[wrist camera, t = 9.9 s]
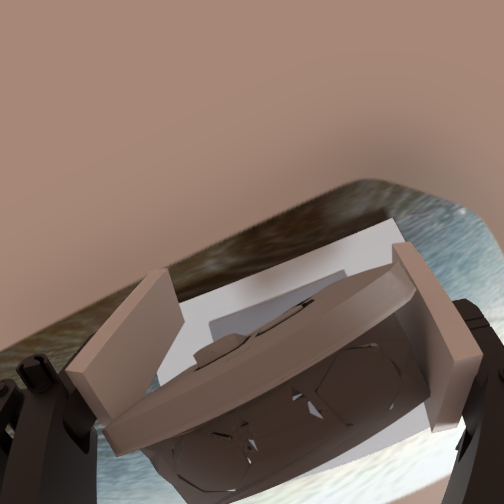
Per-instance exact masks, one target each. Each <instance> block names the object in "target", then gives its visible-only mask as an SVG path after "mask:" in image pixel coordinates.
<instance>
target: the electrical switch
mask: <svg viewBox="0 0 504 504" xmlns="http://www.w3.org/2000/svg"><path fill="white" fill-rule="evenodd" d="M416 290H417V289H416V287H415V286H414V285H413V283H412V282H411V280H410V279H409V277H408V276H407V274H406V273H405V271H404V270H403V268H402V267H401V265H400V264H399V262H398V261H397V262H393V263H390V264H387V265H383V266H380V267H376V268H373V269H369V270H366V271H363V272H360V273H357V274H354V275H351V276H348V277H345V278H342V279H340V280H338V281H336V282H334V283H332V284H330V285H328V286H326V287H325V288H323V289H322V290H320V291H319V292H317V293H315V294H314V295H312V296H311V297H309V298H308V299H306V300H304V301H302V302H300V303H299V304H297V305H296V306H294V307H292V308H291V309H289V310H288V311H286V312H285V313H283V314H282V315H280V316H278V317H277V318H275V319H273V320H272V321H270V322H268V323H267V324H265V325H263V326H262V327H260V328H258V329H256V330H255V331H253V332H251V333H250V334H248V335H246V336H245V335H240V334H236V333H232V334H229V335H226V336H224V337H222V338H220V339H218V340H216V341H214V342H213V343H211V344H209V345H207V346H205V347H203V348H201V349H200V350H198V351H197V352H196V353H195V354H194V355H193V356H194V358H195V360H196V362H197V363H196V364H194V365H193V366H191V367H189V368H187V369H186V370H184V371H183V372H181V373H180V374H178V375H177V376H175V377H174V378H173V379H171V380H170V381H168V382H167V383H165V384H164V385H162V386H161V387H159V388H158V389H156V390H155V391H153V392H152V393H150V394H149V395H147V396H146V397H144V398H143V399H141V400H140V401H139V402H137V403H136V404H135V405H134V406H132V407H131V408H130V409H128V410H127V411H126V412H124V413H123V414H122V415H120V416H119V417H118V418H116V419H115V420H114V421H112V422H111V423H110V424H108V425H107V426H106V427H104V428H103V430H102V433H103V434H104V436H105V438H106V439H107V441H108V443H109V445H110V446H111V448H112V449H113V451H114V453H115V455H116V457H119V456H122V455H125V454H128V453H130V452H133V451H136V450H139V449H140V450H141V451H142V452H143V453H144V454H145V455H146V456H147V457H148V458H149V460H150V461H151V463H152V464H153V466H154V468H155V469H156V471H157V472H158V474H159V475H161V476H162V477H163V478H164V479H166V480H167V481H168V482H169V483H171V484H172V485H173V486H174V488H175V489H176V490H177V491H178V493H179V494H180V495H181V496H182V498H183V499H184V500H185V501H186V502H187V504H229V503H232V502H235V501H238V500H241V499H244V498H246V497H249V496H252V495H254V494H257V493H260V492H262V491H265V490H267V489H270V488H272V487H275V486H277V485H279V484H282V483H284V482H286V481H289V480H291V479H293V478H295V477H298V476H300V475H302V474H304V473H306V472H308V471H310V470H312V469H314V468H316V467H318V466H320V465H322V464H324V463H326V462H328V461H330V460H332V459H334V458H336V457H338V456H340V455H341V454H343V453H345V452H347V451H349V450H350V449H352V448H354V447H356V446H357V445H359V444H361V443H362V442H364V441H366V440H367V439H369V438H371V437H372V436H374V435H376V434H377V433H379V432H380V431H382V430H384V429H385V428H387V427H388V426H390V425H391V424H393V423H394V422H396V421H397V420H399V419H400V418H402V417H403V416H405V415H406V414H407V413H409V412H410V411H412V410H413V409H414V408H416V407H417V406H419V405H420V404H421V403H423V402H424V401H425V400H427V399H428V398H429V397H430V394H431V391H430V389H429V385H428V383H427V381H426V379H425V377H424V375H423V373H422V372H421V370H420V368H419V366H418V364H417V362H416V361H415V358H414V354H413V350H412V346H411V342H410V340H409V338H408V337H407V335H406V333H405V331H404V330H403V328H402V326H401V325H400V322H399V320H398V318H397V315H396V313H395V311H396V310H398V309H399V308H400V307H402V306H403V305H404V304H406V303H407V302H408V301H410V300H411V298H412V297H413V295H414V293H415V291H416ZM299 394H302V395H301V396H299V397H298V398H297V399H295V400H294V401H293V396H296V395H299ZM309 401H310V402H311V403H312V405H313V406H314V407H315V409H316V410H317V411H318V412H319V414H320V415H321V416H322V418H320V417H318V416H315V415H313V414H311V413H310V411H309V406H308V402H309ZM392 404H393V408H392V409H390V408H391V406H392ZM389 409H390V410H389ZM229 437H230V438H229ZM248 439H249V440H254V442H255V445H256V448H257V450H258V451H257V450H256V449H255V447H254V446H253V445H252V444H251V442H250V441H249V440H248ZM247 457H248V458H247ZM248 459H249V460H250V461H251V463H249V460H248ZM227 490H235V491H227Z"/></svg>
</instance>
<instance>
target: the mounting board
mask: <svg viewBox="0 0 504 504" xmlns="http://www.w3.org/2000/svg"><path fill="white" fill-rule="evenodd" d="M401 242H405V240H404V238H403V237H402V235H401V233H400V231H399V229H398V227H397V226H396V224H395V222H394V220H393V218H391V219H389V220H386V221H384V222H381V223H379V224H377V225H374V226H372V227H370V228H367V229H365V230H362V231H360V232H358V233H355V234H353V235H350V236H348V237H345V238H343V239H341V240H338V241H336V242H333V243H331V244H328V245H326V246H324V247H321V248H319V249H316V250H314V251H311V252H309V253H306V254H304V255H301V256H299V257H297V258H294V259H292V260H289V261H287V262H284V263H282V264H279V265H277V266H274V267H272V268H269V269H267V270H264V271H262V272H259V273H257V274H254V275H251V276H249V277H246V278H244V279H241V280H239V281H236V282H234V283H231V284H229V285H226V286H223V287H221V288H218V289H216V290H213V291H211V292H208V293H205V294H203V295H200V296H198V297H195V298H192V299H190V300H187V301H185V302H182V303H179V306H180V309H181V311H182V314H183V317H184V320H185V323H184V324H183V326H182V328H181V330H180V332H179V333H178V335H177V337H176V339H175V340H174V342H173V344H172V346H171V348H170V349H169V351H168V353H167V355H166V356H165V358H164V360H163V362H162V364H161V365H160V367H159V369H158V371H157V375H158V379H159V383H160V387H161V386H162V385H164V384H165V383H167V382H168V381H170V380H171V379H173V378H174V377H175V376H177V375H178V374H180V373H181V372H183V371H184V370H186V369H187V368H189V367H191V366H193V365H194V364H196V363H197V362H196V360H195V358H194V356H193V355H194V354H195V353H196V352H197V351H198V350H200V349H201V348H203V347H205V346H207V345H209V344H211V343H213V342H214V341H216V340H218V339H220V338H222V337H224V336H226V335H229V334H232V333H236V334H240V335H245V336H246V335H248V334H250V333H251V332H253V331H255V330H256V329H258V328H260V327H262V326H263V325H265V324H267V323H268V322H270V321H272V320H273V319H275V318H277V317H278V316H280V315H282V314H283V313H285V312H286V311H288V310H289V309H291V308H292V307H294V306H296V305H297V304H299V303H300V302H302V301H304V300H306V299H308V298H309V297H311V296H312V295H314V294H315V293H317V292H319V291H320V290H322V289H323V288H325V287H326V286H328V285H330V284H332V283H334V282H336V281H338V280H340V279H342V278H345V277H348V276H351V275H354V274H357V273H360V272H363V271H366V270H369V269H373V268H376V267H380V266H383V265H387V264H390V263H392V244H393V243H401ZM301 395H302V394H299V395H296V396H293V401H294V400H295V399H297V398H298V397H299V396H301ZM308 406H309V411H310V413H311V414H313V415H315V416H318V417H320V418H322V416H321V415H320V414H319V412H318V411H317V410H316V409H315V407H314V406H313V405H312V403H311V402H310V401H309V402H308ZM392 408H393V404H392V406H391V408H390V409H392ZM390 409H389V410H390ZM429 427H430V424H429V420H428V416H427V412H426V409H425V405H424V402H423V403H421V404H420V405H419V406H417V407H416V408H414V409H413V410H412V411H410V412H409V413H407V414H406V415H405V416H403V417H402V418H400V419H399V420H397V421H396V422H394V423H393V424H391V425H390V426H388V427H387V428H385V429H384V430H382V431H380V432H379V433H377V434H376V435H374V436H372V437H371V438H369V439H367V440H366V441H364V442H362V443H361V444H359V445H357V446H356V447H354V448H352V449H350V450H349V451H347V452H345V453H343V454H341V455H340V456H338V457H336V458H334V459H332V460H330V461H328V462H326V463H324V464H322V465H320V466H318V467H316V468H314V469H312V470H310V471H308V472H306V473H304V474H302V475H300V476H298V477H295V478H293V479H291V480H295V479H299V478H302V477H306V476H309V475H313V474H316V473H319V472H322V471H326V470H329V469H332V468H335V467H338V466H340V465H343V464H346V463H349V462H352V461H354V460H357V459H360V458H362V457H365V456H367V455H370V454H372V453H375V452H377V451H380V450H382V449H384V448H387V447H389V446H391V445H393V444H396V443H398V442H400V441H402V440H404V439H407V438H409V437H411V436H413V435H415V434H417V433H419V432H421V431H423V430H425V429H427V428H429ZM229 438H230V437H229ZM248 440H249V439H248ZM249 441H250V442H251V444H252V445H253V446H254V447H255V449H256V450H257V448H256V445H255V442H254V440H249ZM257 451H258V450H257ZM247 458H248V457H247ZM248 460H249V459H248ZM249 463H251V461H250V460H249ZM291 480H289V481H291ZM286 482H288V481H286ZM227 491H235V490H227Z"/></svg>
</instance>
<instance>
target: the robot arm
mask: <svg viewBox="0 0 504 504" xmlns="http://www.w3.org/2000/svg"><path fill="white" fill-rule="evenodd" d="M397 261H398V262H399V264H400V265H401V267H402V268H403V270H404V271H405V273H406V274H407V276H408V277H409V279H410V280H411V282H412V283H413V285H414V286H415V287H416V289H417V290H416V291H415V293H414V295H413V297H412V298H411V300H410V301H408V302H407V303H406V304H404V305H403V306H402V307H400V308H399V309H398V310H396V311H395V313H396V315H397V318H398V320H399V322H400V325H401V326H402V328H403V330H404V331H405V333H406V335H407V337H408V338H409V340H410V342H411V346H412V350H413V354H414V358H415V361H416V362H417V364H418V366H419V368H420V370H421V372H422V373H423V375H424V377H425V379H426V381H427V383H428V385H429V389H430V391H431V394H430V397H429V398H428V399H427V400H425V401H424V405H425V409H426V412H427V416H428V420H429V424H430V428H431V432H432V433H436V432H440V431H444V430H448V429H452V428H456V427H457V426H458V423H459V421H460V418H461V416H463V419H464V422H465V425H466V428H465V430H464V432H463V435H462V437H461V439H460V441H459V443H458V445H457V447H456V449H455V450H458V453H457V457H456V461H455V464H454V467H453V471H452V474H451V477H450V480H449V483H448V486H447V489H446V492H445V495H444V498H443V500H442V503H441V504H504V345H503V344H502V342H501V341H500V339H499V337H498V336H497V334H496V333H495V331H494V330H493V328H492V327H490V324H489V322H488V321H487V320H486V318H484V315H483V314H482V312H481V311H480V309H479V308H478V307H477V306H476V305H475V304H473V303H472V302H470V301H469V300H467V299H461V300H455V301H451V299H450V298H449V296H448V295H447V293H446V292H445V290H444V289H443V287H442V286H441V284H440V283H439V281H438V280H437V278H436V277H435V275H434V274H433V273H432V271H431V270H430V268H429V267H428V265H427V264H426V263H425V261H424V260H423V258H422V257H421V256H420V254H419V253H418V251H417V250H416V249H415V247H414V246H413V245H412V243H411V242H401V243H393V244H392V263H393V262H397ZM184 323H185V320H184V317H183V314H182V311H181V309H180V306H179V303H178V300H177V297H176V293H175V290H174V287H173V284H172V281H171V278H170V275H169V272H168V268H166V269H157V270H152V271H151V272H150V273H149V274H148V275H147V276H146V277H145V278H144V280H143V281H142V282H141V283H140V284H139V285H138V286H137V287H136V288H135V289H134V290H133V292H132V293H131V294H130V295H129V296H128V297H127V298H126V299H125V300H124V302H123V303H122V304H121V305H120V306H119V307H118V308H117V309H116V311H115V312H114V313H113V314H112V315H111V316H110V317H109V319H108V320H107V321H106V322H105V323H104V324H103V325H102V327H101V328H100V329H99V330H98V331H96V332H95V333H93V334H92V335H91V336H90V337H89V338H88V339H87V340H86V341H85V342H84V344H83V346H81V347H80V348H79V349H78V351H77V353H75V354H74V355H73V357H72V358H71V359H70V360H69V361H68V363H67V364H66V365H65V366H64V367H63V369H62V370H61V371H60V372H59V373H58V374H57V373H56V371H55V370H54V368H53V366H52V365H51V363H50V361H49V360H48V358H47V356H46V355H45V354H35V355H32V356H29V357H28V358H26V359H25V360H23V361H22V362H21V363H20V364H19V365H18V367H17V368H16V371H17V373H18V374H19V376H20V377H21V379H22V380H23V382H24V383H25V385H26V386H27V388H28V389H22V390H20V389H19V387H18V386H17V385H16V383H15V382H14V380H13V379H3V380H1V381H0V504H97V492H96V470H97V438H98V435H97V431H96V430H95V428H94V427H93V424H94V423H95V421H96V420H98V421H99V422H100V424H101V425H102V426H103V428H104V427H106V426H107V425H108V424H110V423H111V422H112V421H114V420H115V419H116V418H118V417H119V416H120V415H122V414H123V413H124V412H126V411H127V410H128V409H130V408H131V407H132V406H134V405H135V404H136V403H137V402H139V401H140V400H141V399H142V398H143V396H144V394H145V393H146V391H147V389H148V387H149V385H150V383H151V382H152V380H153V378H154V376H155V374H156V373H157V371H158V369H159V367H160V365H161V364H162V362H163V360H164V358H165V356H166V355H167V353H168V351H169V349H170V348H171V346H172V344H173V342H174V340H175V339H176V337H177V335H178V333H179V332H180V330H181V328H182V326H183V324H184ZM7 425H9V426H10V427H11V428H12V430H13V431H14V432H15V434H14V438H13V439H12V438H11V437H10V436H9V434H8V433H7V432H6V431H5V428H6V427H7Z"/></svg>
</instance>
